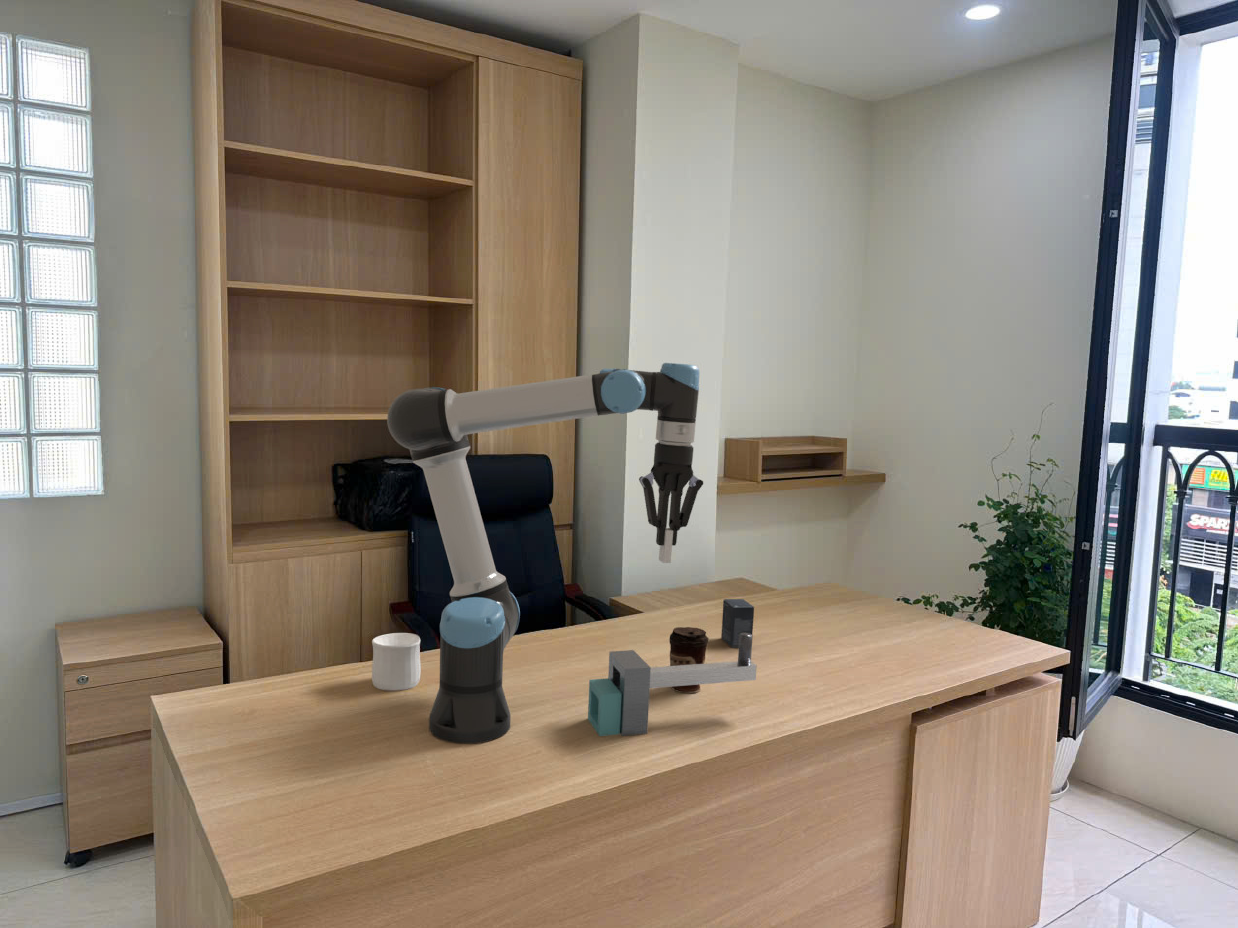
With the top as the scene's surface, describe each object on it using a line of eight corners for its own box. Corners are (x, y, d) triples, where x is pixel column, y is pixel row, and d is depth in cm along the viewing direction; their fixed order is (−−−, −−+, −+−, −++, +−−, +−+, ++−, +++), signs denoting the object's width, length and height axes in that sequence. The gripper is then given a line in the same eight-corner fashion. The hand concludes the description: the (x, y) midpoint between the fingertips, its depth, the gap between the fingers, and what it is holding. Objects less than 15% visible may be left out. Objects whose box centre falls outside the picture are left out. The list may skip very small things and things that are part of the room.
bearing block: (622, 736, 160) (625, 669, 159) (606, 715, 170) (609, 651, 168) (647, 733, 162) (650, 667, 160) (630, 713, 171) (633, 650, 170)
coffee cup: (693, 699, 180) (696, 639, 178) (659, 690, 184) (662, 631, 183) (711, 687, 187) (715, 629, 186) (678, 678, 192) (681, 622, 190)
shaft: (633, 689, 164) (635, 644, 163) (628, 683, 167) (630, 639, 166) (755, 680, 172) (758, 636, 171) (749, 674, 175) (751, 632, 174)
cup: (429, 684, 182) (430, 639, 181) (388, 696, 174) (388, 649, 173) (404, 672, 188) (404, 629, 187) (363, 683, 181) (363, 638, 180)
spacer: (599, 736, 160) (601, 695, 159) (587, 719, 168) (589, 679, 167) (619, 734, 161) (621, 693, 160) (607, 717, 169) (609, 678, 168)
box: (752, 647, 216) (754, 606, 215) (730, 648, 214) (733, 607, 213) (741, 637, 223) (743, 598, 222) (720, 638, 222) (722, 598, 221)
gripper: (649, 443, 161) (639, 565, 164) (712, 446, 165) (702, 566, 168) (636, 439, 168) (627, 556, 171) (697, 442, 172) (687, 557, 175)
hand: (664, 561), depth 169 cm, fingers closed
